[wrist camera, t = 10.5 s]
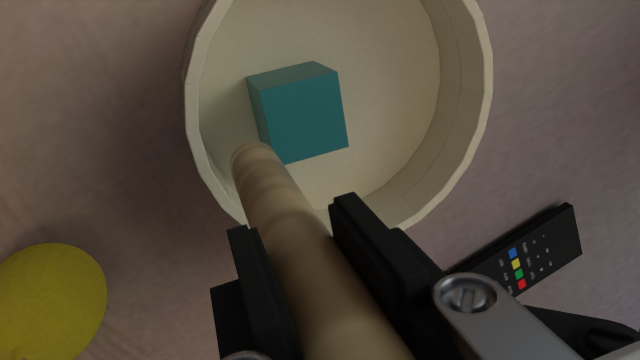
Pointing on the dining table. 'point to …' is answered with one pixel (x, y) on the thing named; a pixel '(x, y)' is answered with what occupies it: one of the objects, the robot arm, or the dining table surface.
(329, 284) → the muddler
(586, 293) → the dining table surface
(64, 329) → the lemon
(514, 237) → the remote control
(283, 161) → the block
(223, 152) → the bowl
